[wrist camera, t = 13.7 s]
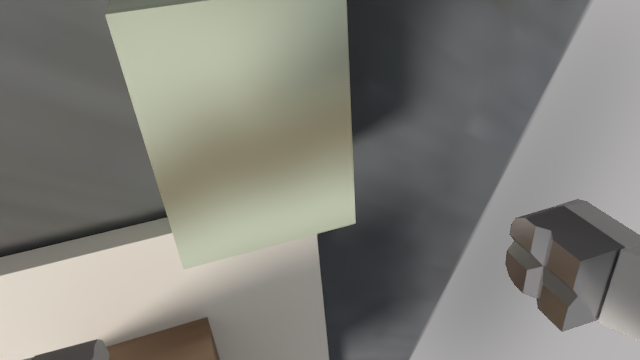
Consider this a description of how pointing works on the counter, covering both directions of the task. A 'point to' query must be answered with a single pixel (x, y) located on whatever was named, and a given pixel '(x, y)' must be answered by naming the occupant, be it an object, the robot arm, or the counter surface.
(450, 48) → the counter surface
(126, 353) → the walnut base brick
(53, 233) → the counter surface
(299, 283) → the baseplate
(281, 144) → the sage brick
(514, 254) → the robot arm
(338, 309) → the counter surface
